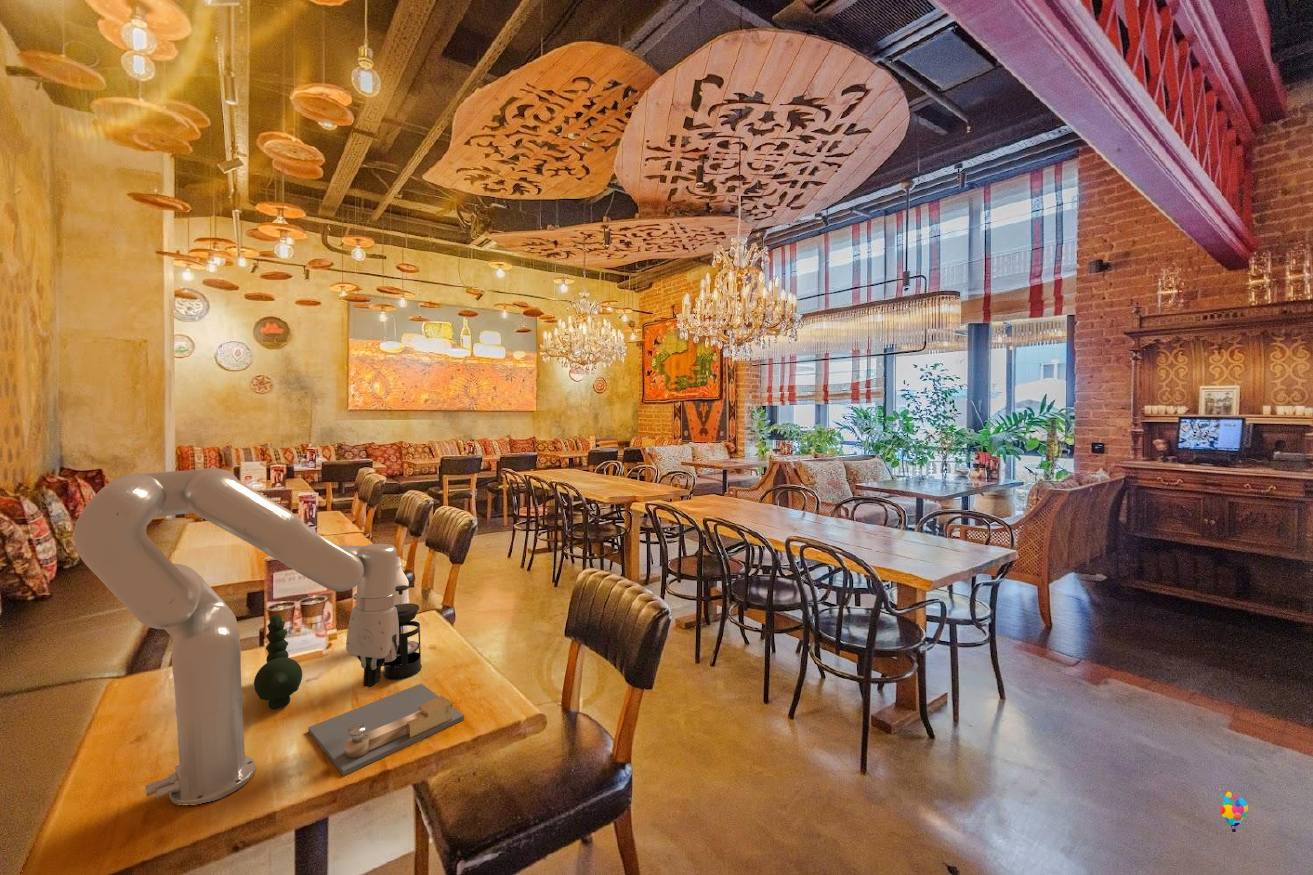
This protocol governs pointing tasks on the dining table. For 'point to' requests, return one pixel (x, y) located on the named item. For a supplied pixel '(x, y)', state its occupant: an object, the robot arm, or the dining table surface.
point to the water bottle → (403, 580)
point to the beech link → (379, 736)
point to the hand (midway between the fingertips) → (371, 684)
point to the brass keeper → (430, 716)
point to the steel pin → (357, 732)
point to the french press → (405, 643)
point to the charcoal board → (375, 727)
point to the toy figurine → (277, 669)
